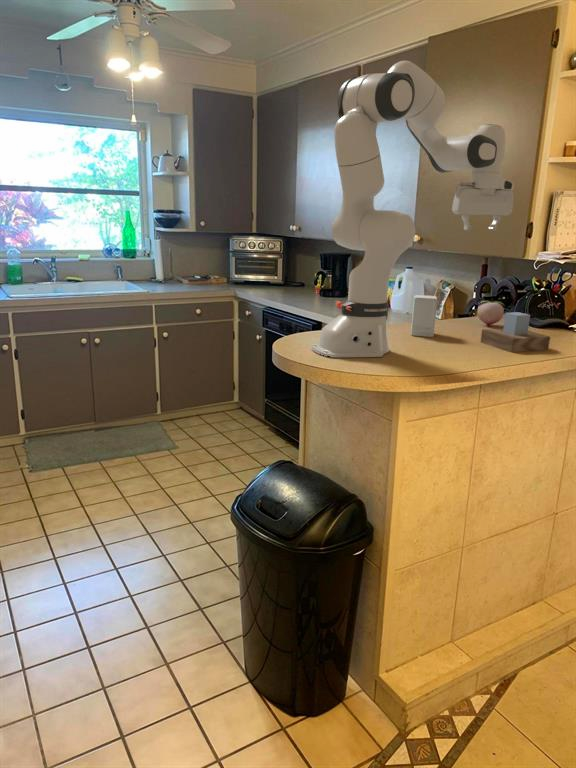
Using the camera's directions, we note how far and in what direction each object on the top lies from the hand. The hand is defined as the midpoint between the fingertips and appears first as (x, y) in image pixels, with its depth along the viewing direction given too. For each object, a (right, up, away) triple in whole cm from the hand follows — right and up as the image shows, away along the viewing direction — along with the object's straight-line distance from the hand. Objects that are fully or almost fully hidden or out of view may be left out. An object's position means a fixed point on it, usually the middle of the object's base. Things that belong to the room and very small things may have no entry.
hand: (479, 230), depth 179 cm
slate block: (+10, -32, -1) cm, 34 cm away
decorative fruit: (+14, -27, +32) cm, 44 cm away
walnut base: (+10, -36, 0) cm, 38 cm away
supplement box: (-15, -32, +13) cm, 37 cm away
